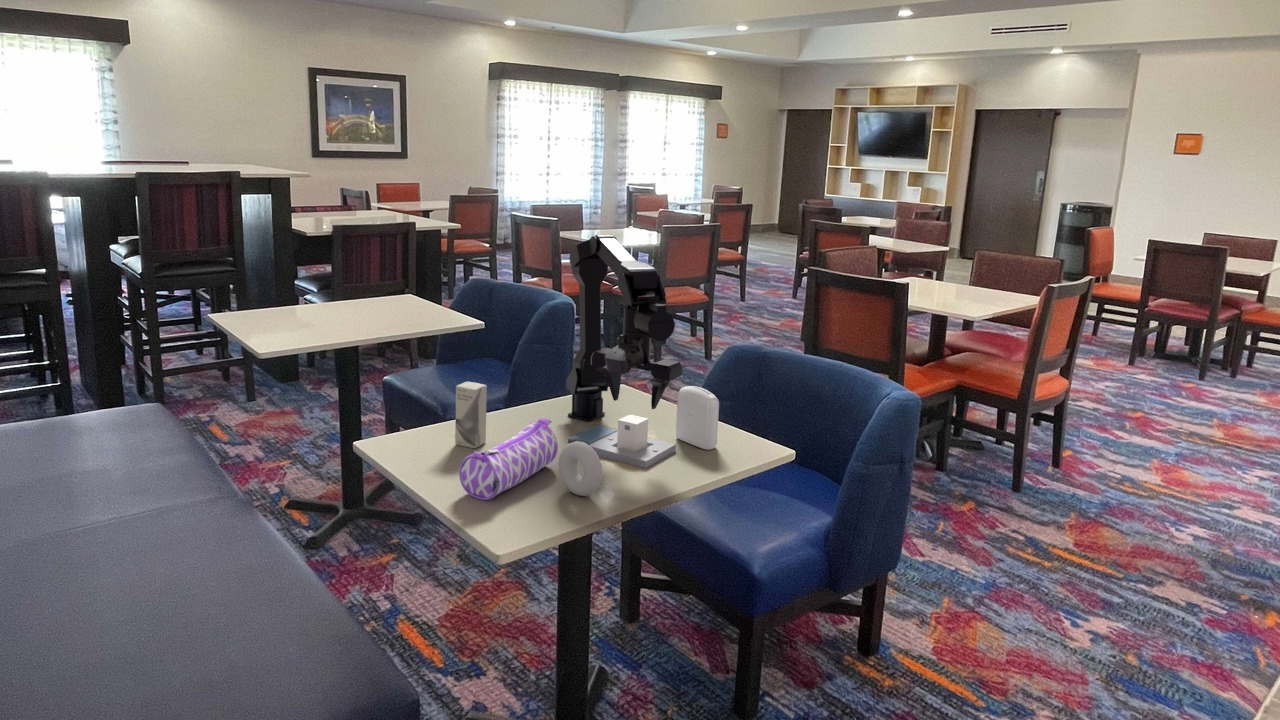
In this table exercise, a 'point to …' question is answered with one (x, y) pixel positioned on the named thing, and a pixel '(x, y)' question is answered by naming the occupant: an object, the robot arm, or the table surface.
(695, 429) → the photo printer
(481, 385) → the box
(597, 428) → the phone
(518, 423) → the table surface
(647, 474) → the table surface
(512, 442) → the pencil case
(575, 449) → the donut
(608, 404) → the table surface
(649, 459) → the outlet plate
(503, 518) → the table surface
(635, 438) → the block
